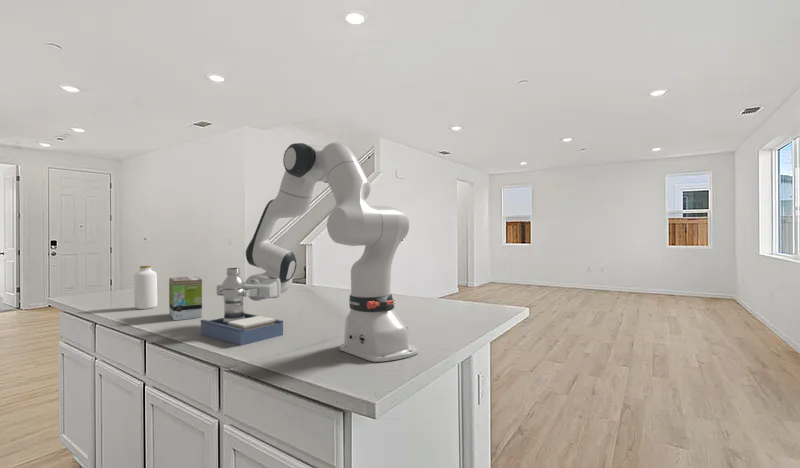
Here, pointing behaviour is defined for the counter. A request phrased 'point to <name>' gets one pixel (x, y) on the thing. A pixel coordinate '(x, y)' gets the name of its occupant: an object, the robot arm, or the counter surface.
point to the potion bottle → (145, 288)
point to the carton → (252, 322)
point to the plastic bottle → (233, 296)
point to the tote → (240, 331)
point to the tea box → (185, 297)
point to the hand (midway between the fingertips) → (231, 293)
